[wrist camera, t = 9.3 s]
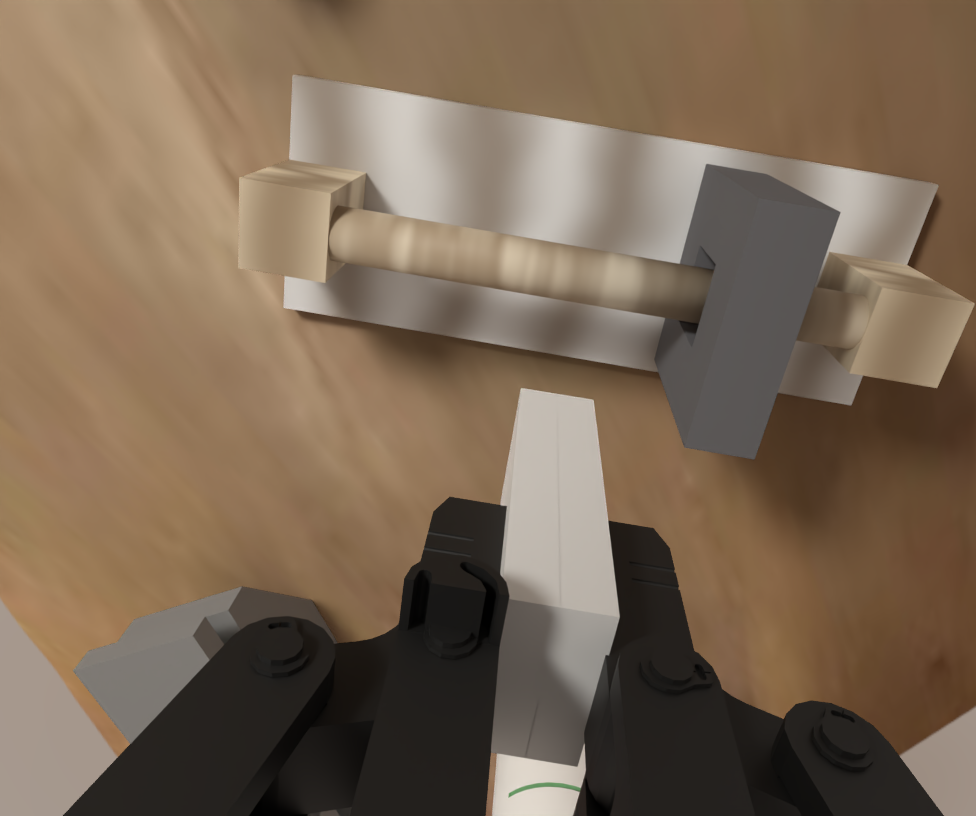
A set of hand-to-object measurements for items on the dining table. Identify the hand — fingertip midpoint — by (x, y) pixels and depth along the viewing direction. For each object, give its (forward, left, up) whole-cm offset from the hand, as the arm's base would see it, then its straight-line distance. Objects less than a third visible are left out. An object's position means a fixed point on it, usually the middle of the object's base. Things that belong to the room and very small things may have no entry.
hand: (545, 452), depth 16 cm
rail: (+1, +2, -27) cm, 27 cm away
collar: (+1, +9, -25) cm, 27 cm away
